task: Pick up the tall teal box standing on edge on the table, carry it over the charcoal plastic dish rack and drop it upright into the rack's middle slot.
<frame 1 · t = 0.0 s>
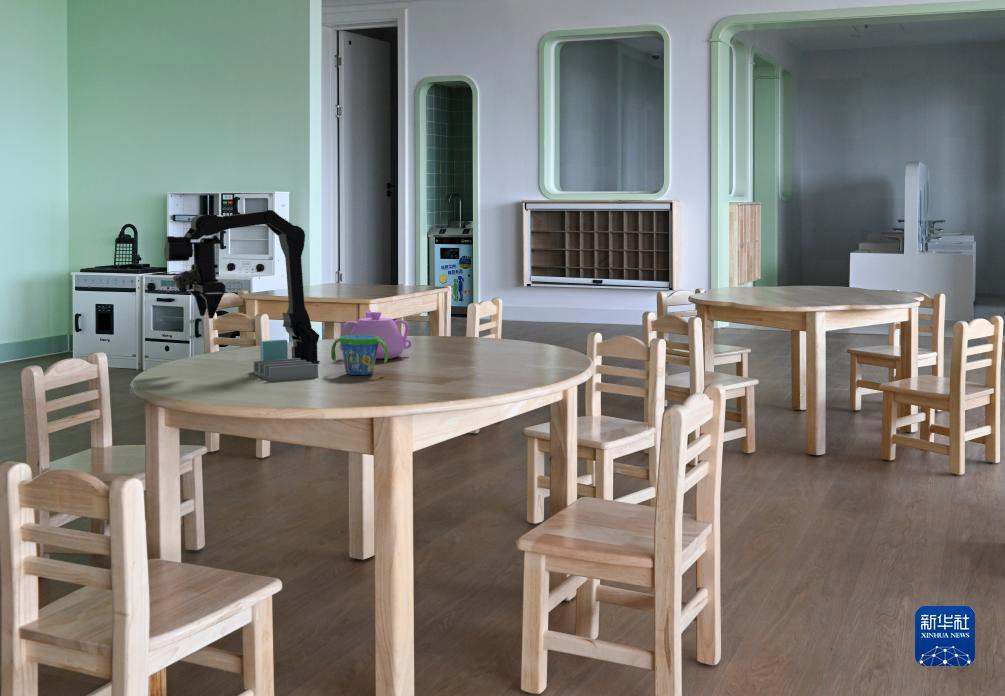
hand: (206, 317, 301), 15 cm above the table, tool pointing down, fingers open, 9 cm apart
snack cup: (360, 374, 295), on the table
tall teal box: (274, 369, 304), on the table
dish rack: (285, 375, 292), on the table
teapot: (374, 357, 331), on the table
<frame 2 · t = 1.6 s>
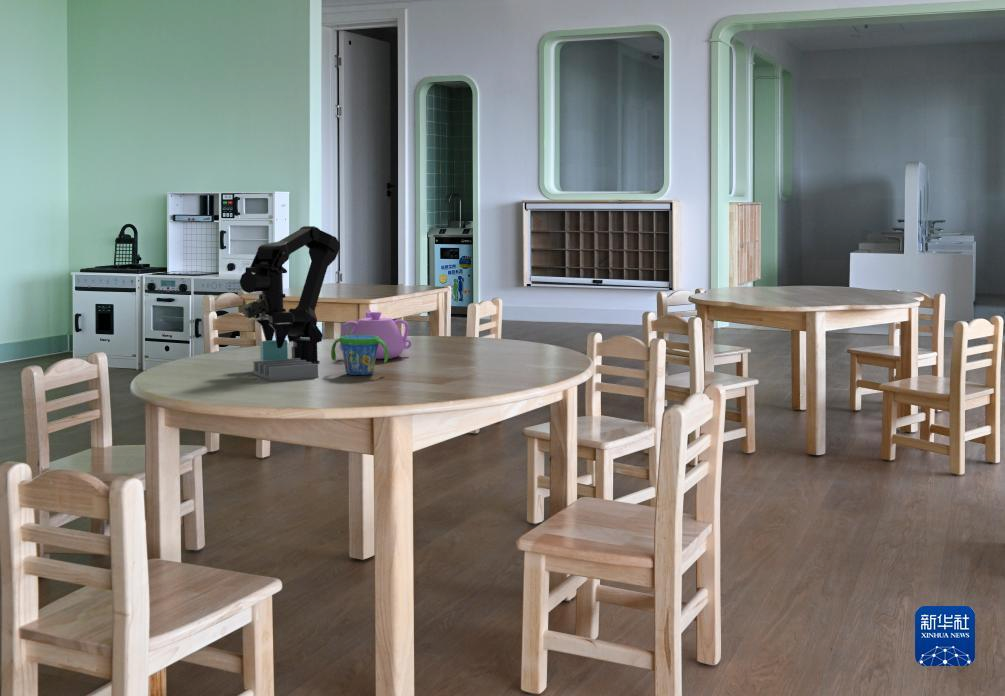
hand: (274, 346, 304), 6 cm above the table, tool pointing down, fingers open, 9 cm apart
nothing on the table moved.
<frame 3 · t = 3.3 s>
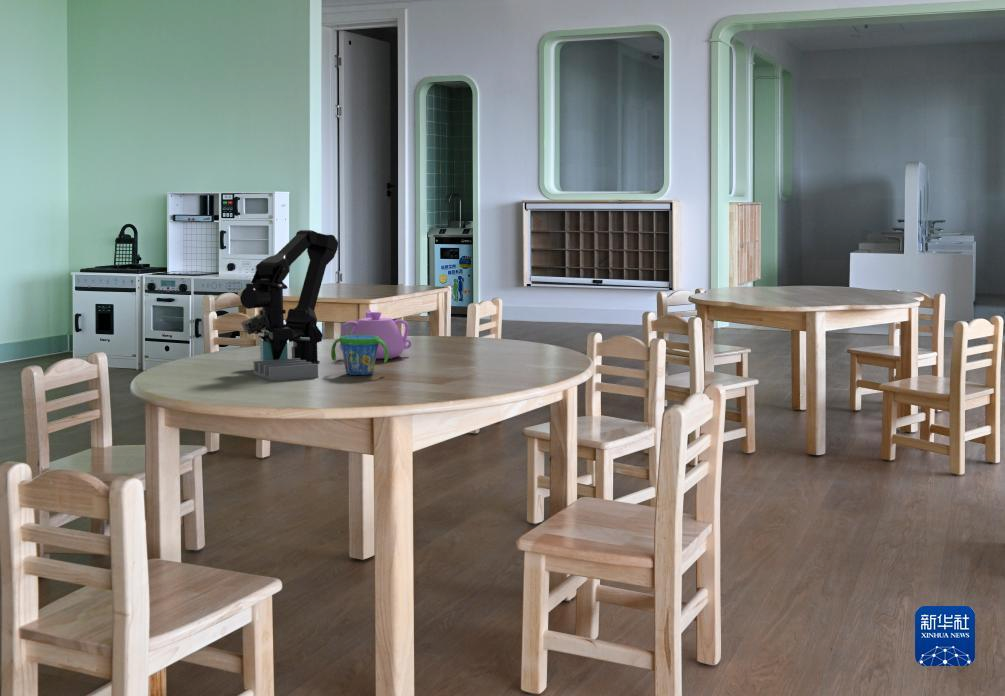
hand: (274, 361, 304), 2 cm above the table, tool pointing down, fingers closed on tall teal box, 2 cm apart
tall teal box: (274, 369, 304), on the table, touching gripper
everything else where it was.
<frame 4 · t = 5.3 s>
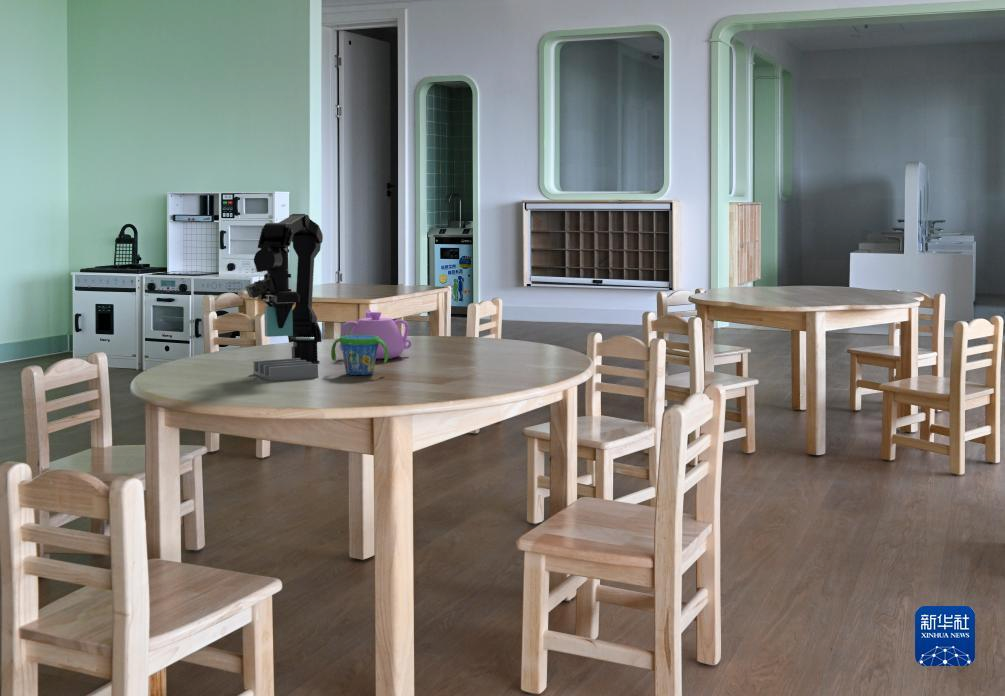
hand: (279, 327, 294), 12 cm above the table, tool pointing down, fingers closed on tall teal box, 2 cm apart
tall teal box: (278, 335, 295), point 10 cm above the table, touching gripper
everything else where it was.
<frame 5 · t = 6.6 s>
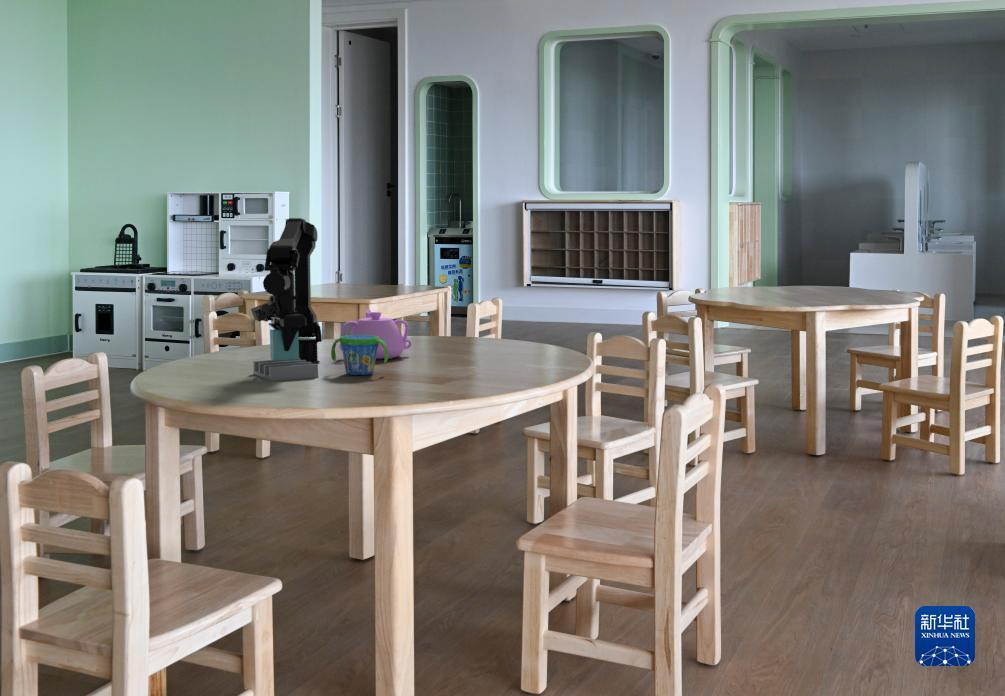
hand: (285, 350, 291), 7 cm above the table, tool pointing down, fingers closed on tall teal box, 2 cm apart
tall teal box: (284, 359, 291), point 4 cm above the table, touching gripper
everything else where it was.
when the fingers open (4 cm above the table, at t = 7.6 s): tall teal box drops 1 cm, resting on dish rack.
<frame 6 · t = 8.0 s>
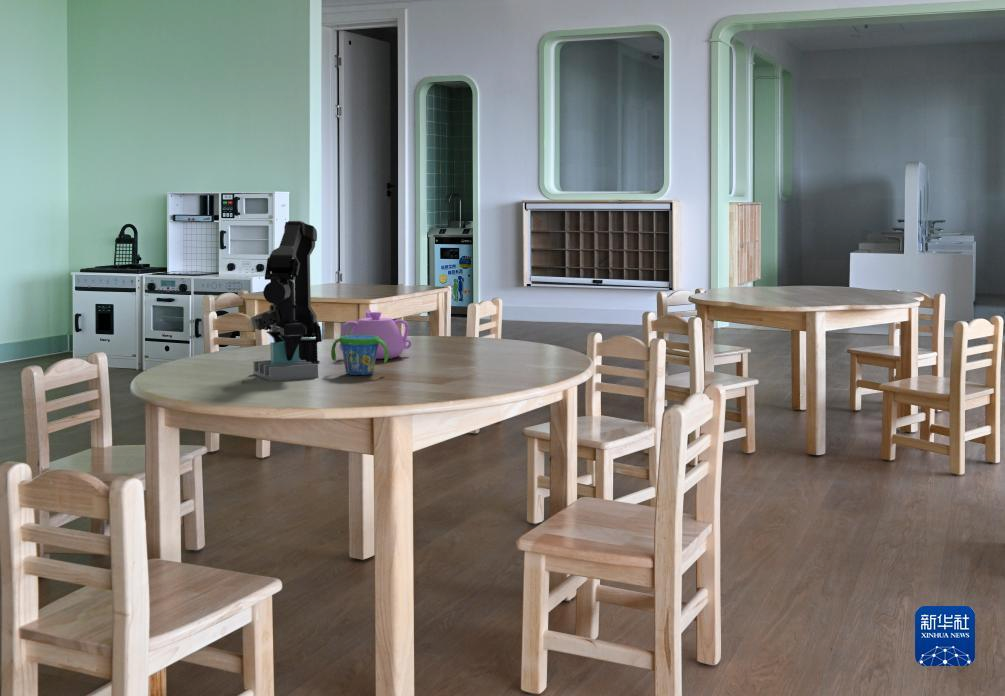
hand: (285, 359, 291), 4 cm above the table, tool pointing down, fingers open, 6 cm apart
tall teal box: (285, 371, 291), point 1 cm above the table, touching dish rack
everything else where it was.
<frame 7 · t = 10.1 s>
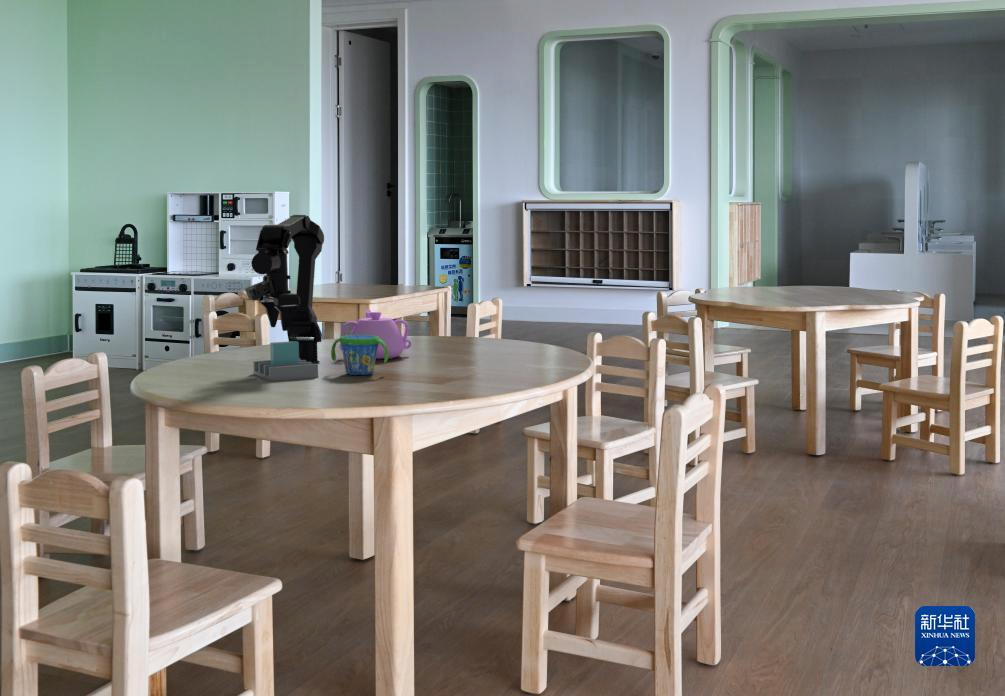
hand: (278, 329, 296), 12 cm above the table, tool pointing down, fingers open, 9 cm apart
nothing on the table moved.
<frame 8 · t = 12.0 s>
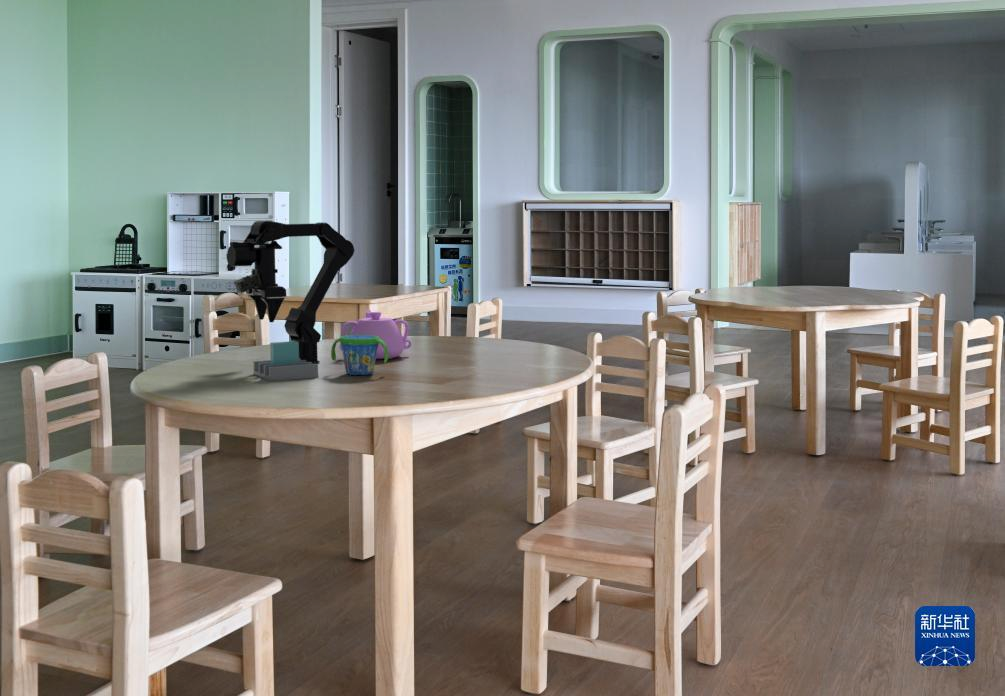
hand: (266, 320, 308), 13 cm above the table, tool pointing down, fingers open, 9 cm apart
nothing on the table moved.
at the end: tall teal box 0.1 cm off-centre on the dish rack, point 1.0 cm above the dish rack's base; tall teal box tilted 0°; the gripper is holding nothing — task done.
